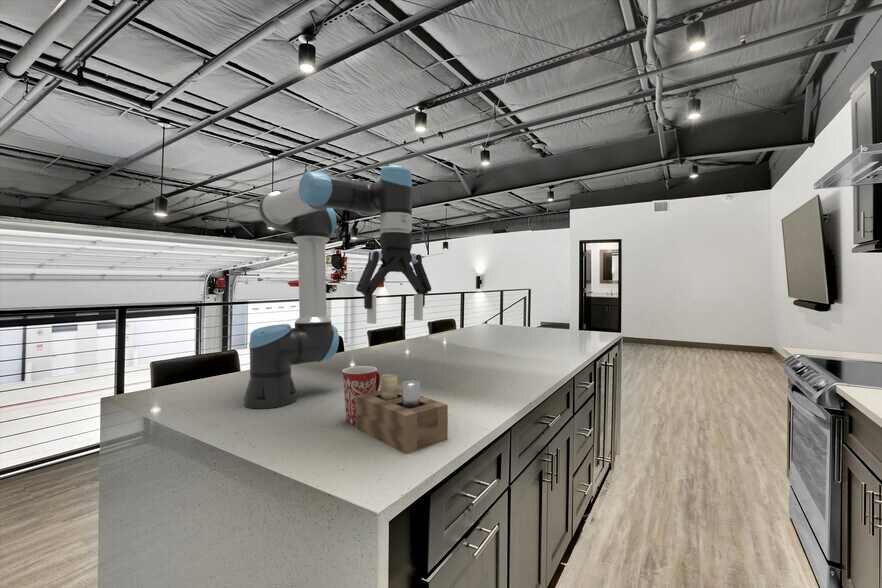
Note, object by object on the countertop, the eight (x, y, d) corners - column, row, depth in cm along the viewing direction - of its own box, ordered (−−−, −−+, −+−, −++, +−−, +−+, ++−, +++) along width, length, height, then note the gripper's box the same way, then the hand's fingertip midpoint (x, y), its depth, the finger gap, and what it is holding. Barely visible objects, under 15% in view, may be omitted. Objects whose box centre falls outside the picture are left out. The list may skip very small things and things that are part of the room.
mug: (362, 428, 97) (362, 374, 97) (335, 422, 102) (334, 370, 101) (392, 414, 108) (391, 365, 108) (366, 409, 113) (366, 362, 113)
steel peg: (398, 414, 91) (398, 382, 91) (412, 410, 94) (412, 379, 94) (409, 418, 88) (409, 385, 88) (423, 414, 90) (423, 382, 90)
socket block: (355, 427, 98) (355, 395, 98) (395, 416, 106) (394, 387, 106) (405, 453, 82) (405, 415, 82) (447, 438, 90) (447, 404, 90)
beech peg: (377, 405, 97) (377, 376, 97) (391, 402, 100) (391, 373, 100) (386, 409, 94) (386, 378, 94) (400, 406, 97) (400, 376, 97)
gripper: (357, 225, 82) (358, 326, 83) (445, 236, 99) (444, 319, 99) (340, 229, 88) (341, 323, 88) (426, 238, 104) (426, 317, 105)
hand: (396, 321), depth 94 cm, fingers open, 13 cm apart
